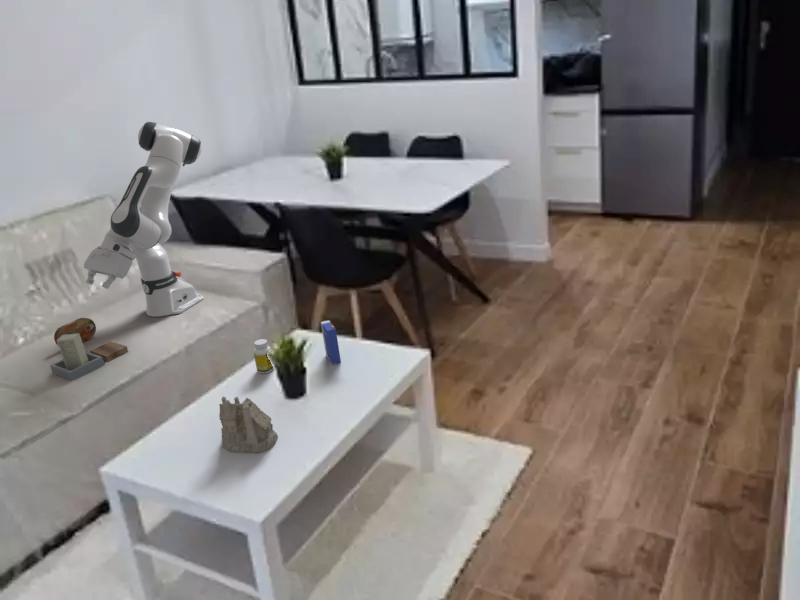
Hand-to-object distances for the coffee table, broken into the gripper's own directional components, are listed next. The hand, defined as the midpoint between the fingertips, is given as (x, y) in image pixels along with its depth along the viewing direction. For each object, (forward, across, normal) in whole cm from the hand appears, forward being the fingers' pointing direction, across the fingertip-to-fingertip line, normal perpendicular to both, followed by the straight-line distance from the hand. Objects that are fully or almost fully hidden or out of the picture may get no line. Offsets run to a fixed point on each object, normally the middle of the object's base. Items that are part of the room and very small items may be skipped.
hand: (96, 285), depth 249 cm
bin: (+27, 0, +7) cm, 28 cm away
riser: (+19, 0, +16) cm, 25 cm away
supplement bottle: (+8, +61, +27) cm, 67 cm away
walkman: (-3, +76, +38) cm, 85 cm away
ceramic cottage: (+28, +85, +7) cm, 90 cm away
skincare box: (+28, 0, +8) cm, 29 cm away
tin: (+19, -20, +16) cm, 32 cm away
